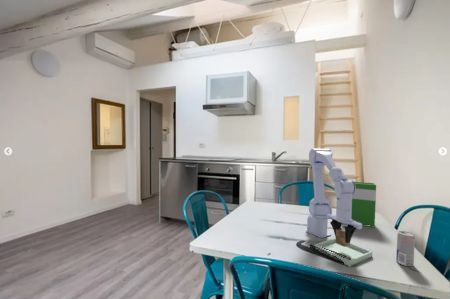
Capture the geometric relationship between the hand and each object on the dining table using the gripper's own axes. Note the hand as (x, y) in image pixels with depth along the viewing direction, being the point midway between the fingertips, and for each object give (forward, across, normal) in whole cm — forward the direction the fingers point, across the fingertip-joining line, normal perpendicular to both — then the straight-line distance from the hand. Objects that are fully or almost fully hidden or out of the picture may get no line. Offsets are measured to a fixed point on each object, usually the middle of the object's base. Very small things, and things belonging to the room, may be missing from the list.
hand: (342, 240), depth 96 cm
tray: (+6, 0, 0) cm, 6 cm away
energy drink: (+6, -17, -14) cm, 23 cm away
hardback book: (+6, +19, -44) cm, 48 cm away
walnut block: (+2, 0, 0) cm, 2 cm away
